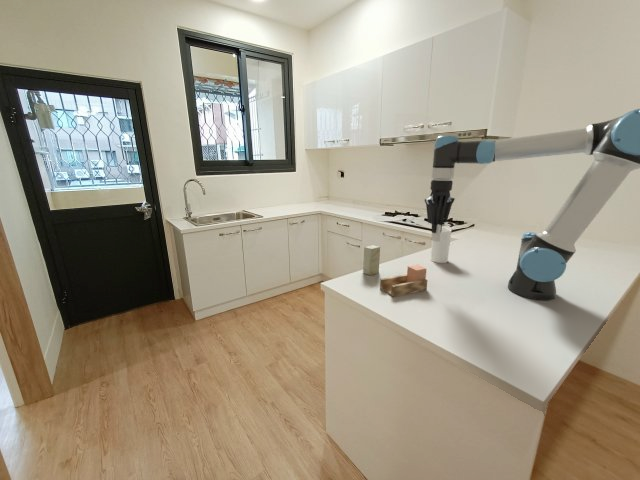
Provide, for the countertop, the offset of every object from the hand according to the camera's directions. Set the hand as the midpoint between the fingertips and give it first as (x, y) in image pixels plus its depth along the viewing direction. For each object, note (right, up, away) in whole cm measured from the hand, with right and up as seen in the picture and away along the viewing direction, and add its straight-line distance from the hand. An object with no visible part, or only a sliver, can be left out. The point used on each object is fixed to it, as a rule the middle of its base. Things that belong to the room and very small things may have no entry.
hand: (435, 240), depth 116 cm
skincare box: (-23, -15, +16) cm, 32 cm away
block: (-7, -18, +2) cm, 19 cm away
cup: (+15, -10, +33) cm, 37 cm away
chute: (-13, -19, -1) cm, 23 cm away
